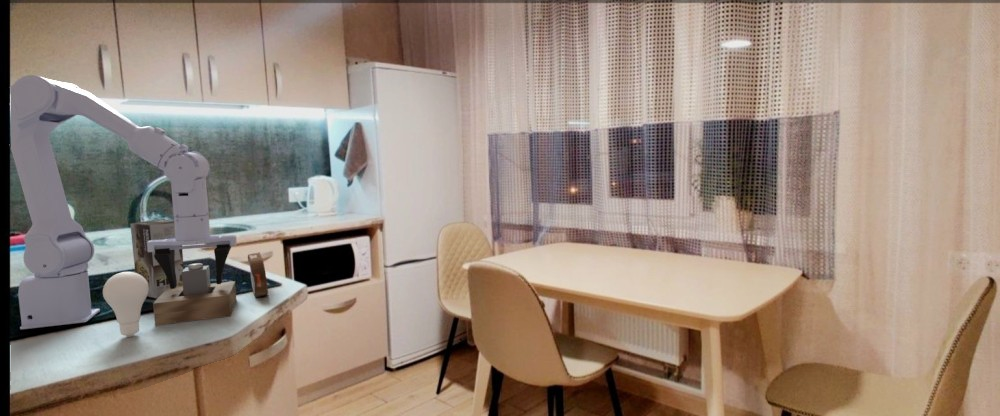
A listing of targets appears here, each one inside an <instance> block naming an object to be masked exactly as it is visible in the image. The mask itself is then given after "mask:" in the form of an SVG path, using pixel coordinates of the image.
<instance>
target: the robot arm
mask: <svg viewBox="0 0 1000 416" xmlns="http://www.w3.org/2000/svg"><path fill="white" fill-rule="evenodd" d="M10 87H11V148H10V150H11V151H10V152H11V153H12V157H13V160H14V165H15V169H16V171H17V175H18V178H19V181H20V186H21V189H22V191H23V196H24V200H25V203H26V206H27V210H28V213H29V216H30V220H31V224H32V225H31V226H30V228H29V229H28V230H27V232H26V234H25V235H24V236H23V241H24V245H25V248H24V251H23V252H24V253H23V262H24V265H25V267H26V268H27V270H29V272H31V273H32V274H33V275H29V276H25V277H23V278H22V279H21V280H20V282H19V286H18V305H19V313H20V320H21V326H20V327H19V329H20V330H29V329H38V328H45V327H47V328H48V327H54V326H63V325H73V324H81V323H82V324H83V323H86V322H88V321H90V320H91V319H93V317H95V316H96V315H97V314H99V312H100V311H101V309H100V308H92V300H91V291H90V282H89V272H88V268H89V264H88V263H89V262H90V261H91V260H92V259H93V257H94V255H95V246H94V243H93V242H92V241H91V240H90V238H89V237H88V236H87V235H86V233H85V231H84V228H83V226H82V225H81V224H80V223H78V222H77V221H76V220H74V218H72V215H71V211H70V208H69V205H68V204H69V203H68V200H67V197H66V193H65V190H64V186H63V182H62V179H61V176H60V172H59V168H58V165H57V160H56V157H55V152H54V151H53V147H52V143H51V139H50V135H51V133H52V132H54V130H56V128H57V127H59V126H60V125H61V124H64V123H65V122H68V120H71V119H72V118H74V117H76V116H81V117H85V118H86V119H88V120H90V121H92V122H93V123H95V124H96V125H99V126H100V127H102V128H104V129H106V130H107V131H110V132H111V133H113V134H114V135H116V136H118V137H120V138H122V139H124V140H125V141H126V143H127V145H128V148H129V151H130V152H132V154H135V155H136V156H138V157H139V158H142V159H143V160H145V161H146V162H147V163H149V164H150V165H153V166H154V167H156V168H158V169H159V170H161V171H163V174H164V176H165V177H166V178H167V180H169V182H170V184H171V185H170V186H171V187H170V188H171V198H172V201H171V202H172V213H173V221H174V227H175V238H173V239H163V240H151V241H148V242H147V248H148V252H155V255H154V258H155V259H156V261H157V262H158V263H159V265H160V266H161V268H162V269H163V271H164V273H165V275H166V277H167V279H168V282H169V285H170V289H175V288H176V286H177V280H176V273H175V250H178V249H182V250H187V249H188V250H189V249H200V248H201V249H203V248H214V249H213V252H214V253H213V254H214V258H215V259H214V260H215V261H214V262H215V267H216V270H215V271H216V272H215V275H216V276H215V278H216V279H215V280H216V282H215V283H217V284H221V283H223V273H224V270H225V269H224V268H225V265H226V261H227V259H228V255H229V253H230V251H231V249H232V247H236V246H237V245H238V243H237V242H238V241H237V234H230V235H229V234H228V235H211V229H210V217H209V216H210V215H209V212H210V211H209V202H208V201H209V200H208V190H207V180H206V178H207V177H208V175H209V174H210V171H211V166H210V162H209V160H208V159H207V158H206V157H205V156H204V155H203V154H202V153H201V152H199V151H189V150H188V149H189V146H188V145H186V144H184V143H181V144H180V143H179V142H177V141H175V140H174V139H172V138H171V137H169V136H167V135H166V131H165V130H164V129H163V128H161V127H153V126H151V125H149V126H148V125H147V126H142V127H140V126H139V125H137V124H136V123H134V122H133V120H130V119H129V118H127V117H126V116H125V115H123V114H121V113H120V112H118V111H117V110H116V109H114V108H112V107H111V106H110V105H108V104H107V103H105V102H104V101H102V100H101V99H100V98H98V97H96V96H95V95H94V94H92V93H91V92H89V91H87V90H85V89H81V88H80V87H79V86H78V85H76V84H74V83H70V82H67V81H64V82H63V81H59V80H53V79H49V78H45V77H44V76H43V77H42V76H39V75H35V74H27V75H24V76H22V77H20V78H18V79H17V80H15V82H14V83H13V84H12V85H11V86H10Z"/></svg>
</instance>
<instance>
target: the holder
mask: <svg viewBox="0 0 1000 416" xmlns="http://www.w3.org/2000/svg"><path fill="white" fill-rule="evenodd" d="M210 285H211V293H209V294H200V295H190V296H184V294H183V286H182V287H176V288H175V289H170V288H167V289H166V290H165V291H164V292H163V293H162V294H161V296H160V297H159V298H156V299H155V301H154V302H152V306H153V317H154V318H153V319H154V326H158V325H159V326H160V325H167V324H169V325H170V324H177V323H185V322H191V321H200V320H208V319H216V318H217V319H218V318H224V317H226V318H227V317H231V316H232V314H233V311H234V308H235V305H236V302H237V289H236V281H235V280H234V281H225V282H223V281H222V283H221V284H217V282H213V283H210Z"/></svg>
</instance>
